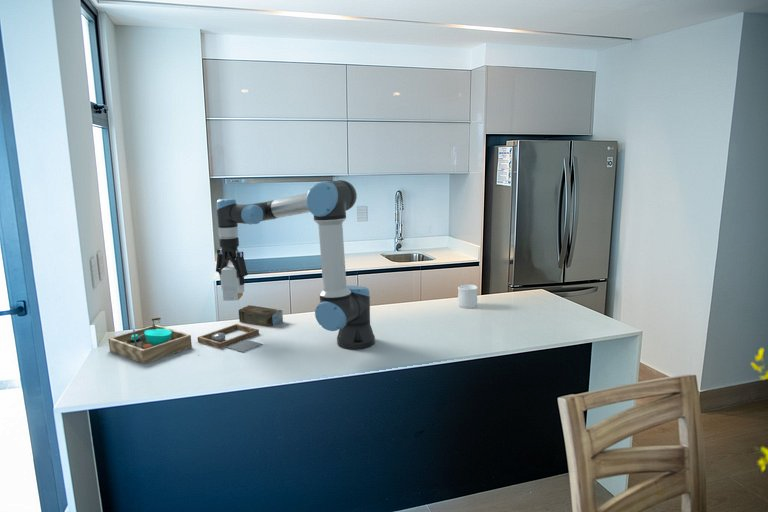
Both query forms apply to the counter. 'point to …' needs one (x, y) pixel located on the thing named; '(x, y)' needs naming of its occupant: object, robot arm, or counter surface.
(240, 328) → the frame
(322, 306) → the robot arm
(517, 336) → the counter surface
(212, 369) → the counter surface
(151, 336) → the contraption on wooden base
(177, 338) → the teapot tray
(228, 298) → the small box
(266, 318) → the beverage carton
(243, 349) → the mat
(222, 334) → the tin
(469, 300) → the cup
